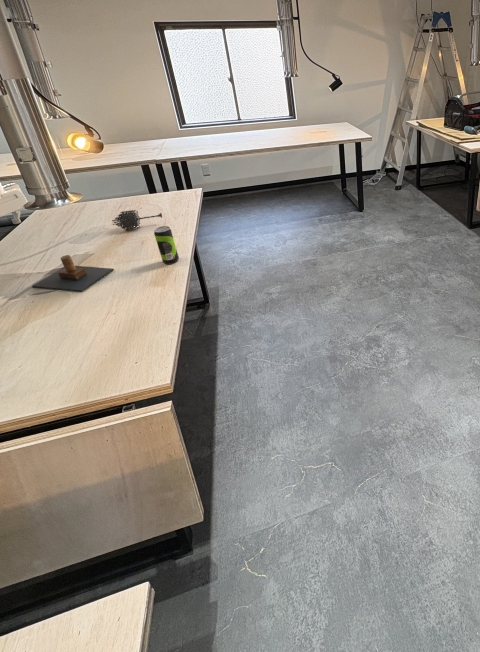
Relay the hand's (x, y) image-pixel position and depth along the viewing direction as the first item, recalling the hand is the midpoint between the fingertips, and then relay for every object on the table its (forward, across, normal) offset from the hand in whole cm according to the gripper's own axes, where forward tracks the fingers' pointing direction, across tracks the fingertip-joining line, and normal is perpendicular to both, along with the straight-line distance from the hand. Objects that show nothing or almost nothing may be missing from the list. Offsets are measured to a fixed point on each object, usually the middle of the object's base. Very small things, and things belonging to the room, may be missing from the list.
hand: (4, 228), depth 140 cm
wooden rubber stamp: (+26, -12, +5) cm, 29 cm away
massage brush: (+27, -59, -3) cm, 65 cm away
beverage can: (+27, -30, +35) cm, 54 cm away
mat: (+27, -12, +5) cm, 30 cm away
